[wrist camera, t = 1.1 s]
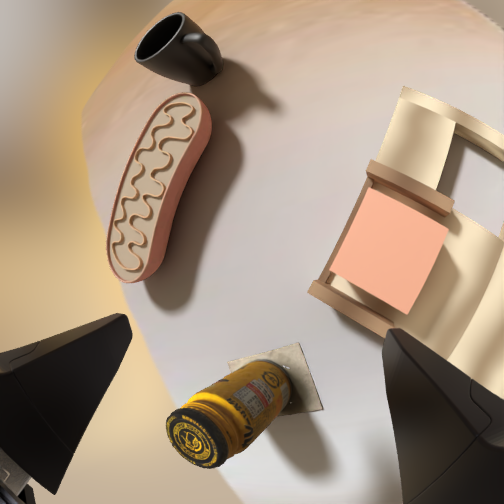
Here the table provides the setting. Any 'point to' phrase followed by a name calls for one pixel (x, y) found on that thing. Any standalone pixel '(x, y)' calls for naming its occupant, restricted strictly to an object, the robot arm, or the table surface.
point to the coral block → (389, 250)
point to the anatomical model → (155, 185)
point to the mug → (179, 51)
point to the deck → (446, 246)
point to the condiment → (242, 406)
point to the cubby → (375, 174)
